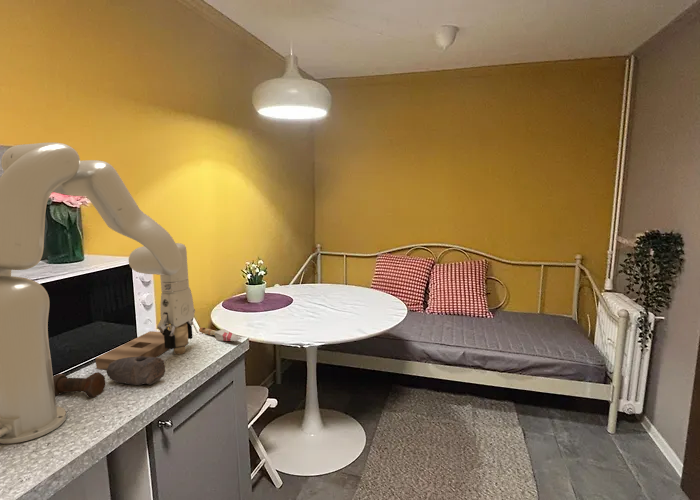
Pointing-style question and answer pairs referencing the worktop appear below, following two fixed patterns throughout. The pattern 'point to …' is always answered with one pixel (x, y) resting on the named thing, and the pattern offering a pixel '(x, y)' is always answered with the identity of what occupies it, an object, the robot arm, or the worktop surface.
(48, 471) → the worktop surface
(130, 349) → the board
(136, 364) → the perforated stone tool
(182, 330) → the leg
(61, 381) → the bolt
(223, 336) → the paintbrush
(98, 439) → the worktop surface
